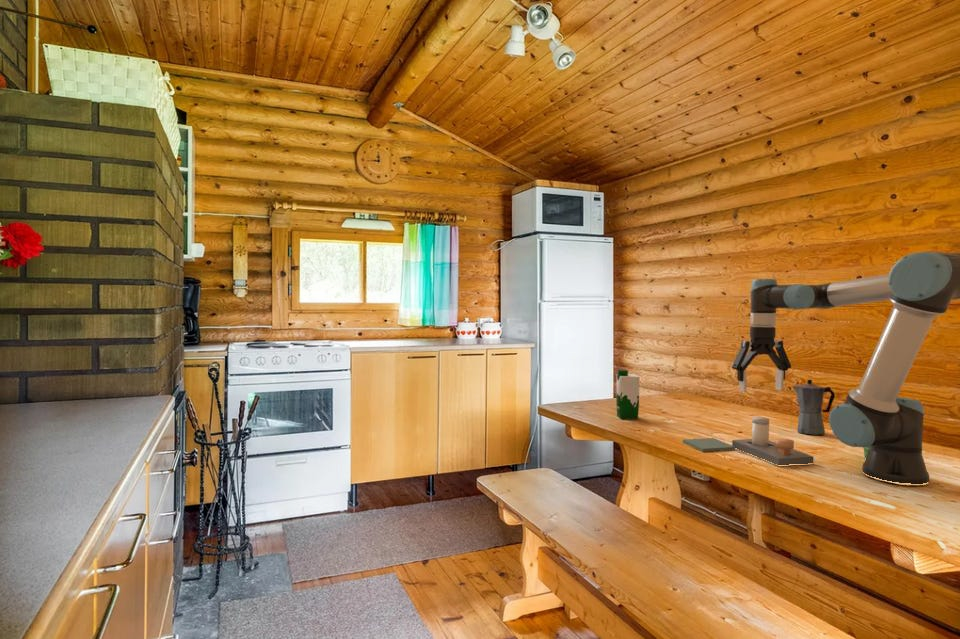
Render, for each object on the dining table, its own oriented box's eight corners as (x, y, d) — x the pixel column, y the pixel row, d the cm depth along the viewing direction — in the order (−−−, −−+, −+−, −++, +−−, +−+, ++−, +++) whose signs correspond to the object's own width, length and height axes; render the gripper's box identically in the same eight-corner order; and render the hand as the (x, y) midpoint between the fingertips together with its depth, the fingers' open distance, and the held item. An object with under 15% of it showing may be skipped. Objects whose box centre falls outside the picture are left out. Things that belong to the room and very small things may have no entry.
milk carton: (614, 415, 239) (614, 369, 238) (635, 415, 239) (636, 369, 238) (619, 419, 230) (619, 371, 229) (641, 419, 230) (641, 371, 229)
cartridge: (771, 453, 181) (772, 419, 181) (758, 453, 181) (759, 420, 180) (761, 448, 186) (762, 416, 186) (748, 449, 185) (748, 417, 185)
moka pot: (797, 427, 217) (799, 376, 216) (840, 435, 204) (842, 381, 203) (784, 430, 212) (785, 378, 211) (828, 439, 199) (829, 383, 198)
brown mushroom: (797, 461, 171) (797, 442, 170) (782, 462, 170) (783, 442, 169) (785, 456, 176) (785, 438, 175) (771, 457, 175) (771, 438, 174)
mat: (735, 449, 185) (735, 446, 185) (702, 451, 183) (702, 448, 183) (713, 440, 197) (713, 437, 197) (682, 442, 195) (682, 439, 195)
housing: (813, 464, 169) (813, 456, 169) (778, 466, 167) (778, 458, 167) (763, 445, 190) (763, 438, 190) (732, 447, 188) (732, 440, 188)
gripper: (787, 325, 188) (785, 387, 189) (721, 325, 183) (719, 389, 184) (804, 326, 180) (802, 391, 181) (736, 327, 176) (734, 393, 177)
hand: (760, 390), depth 183 cm, fingers open, 13 cm apart
